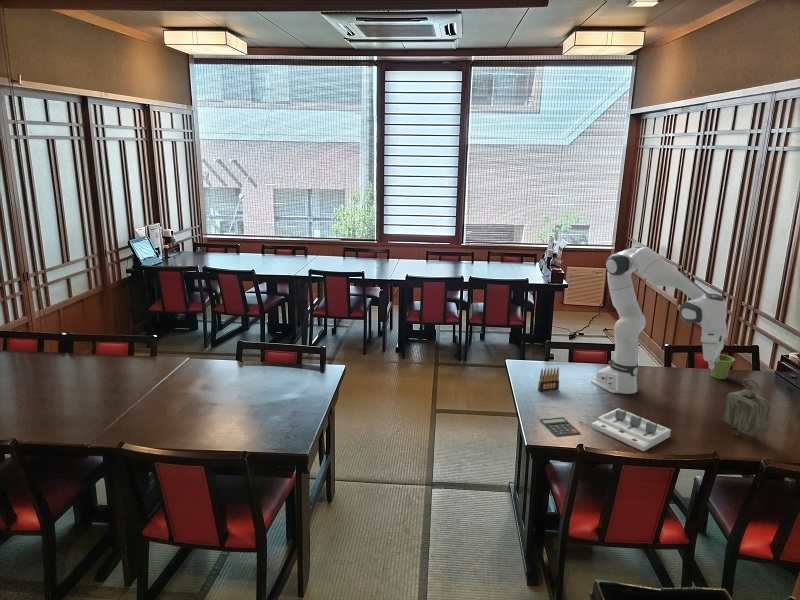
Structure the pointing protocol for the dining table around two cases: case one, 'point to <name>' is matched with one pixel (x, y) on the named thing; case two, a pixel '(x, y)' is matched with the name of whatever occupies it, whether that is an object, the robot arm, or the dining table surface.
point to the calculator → (559, 427)
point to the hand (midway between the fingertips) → (714, 364)
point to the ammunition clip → (549, 380)
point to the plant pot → (722, 367)
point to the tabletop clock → (746, 410)
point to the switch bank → (630, 431)
